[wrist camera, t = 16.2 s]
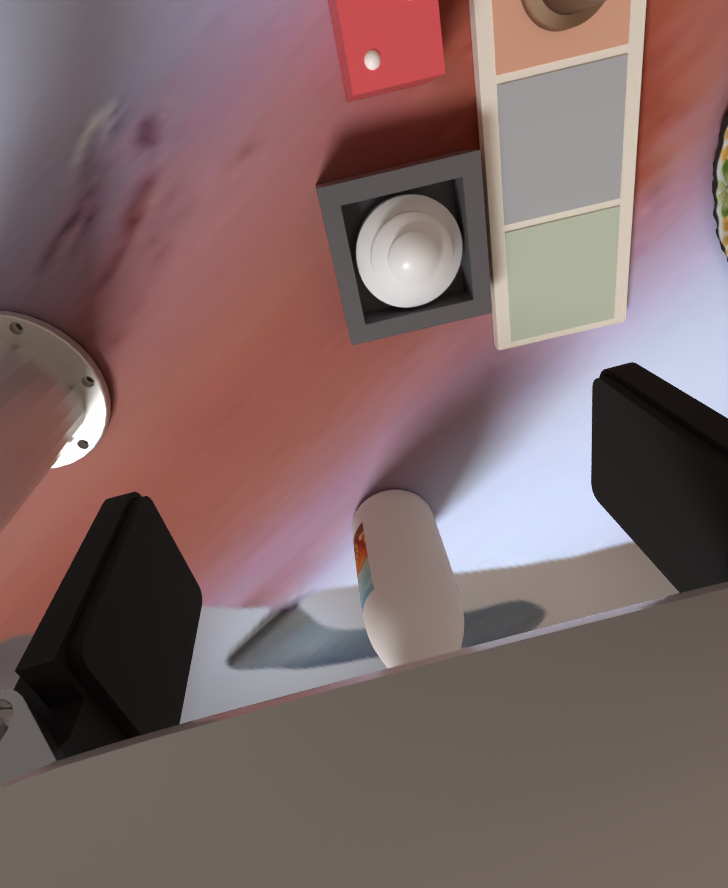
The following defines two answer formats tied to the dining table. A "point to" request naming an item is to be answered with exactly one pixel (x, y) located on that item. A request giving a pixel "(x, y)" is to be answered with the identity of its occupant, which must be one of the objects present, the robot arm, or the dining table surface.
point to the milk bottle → (405, 579)
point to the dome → (408, 250)
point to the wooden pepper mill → (560, 12)
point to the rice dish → (721, 187)
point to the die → (386, 44)
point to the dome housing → (438, 179)
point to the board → (557, 165)
